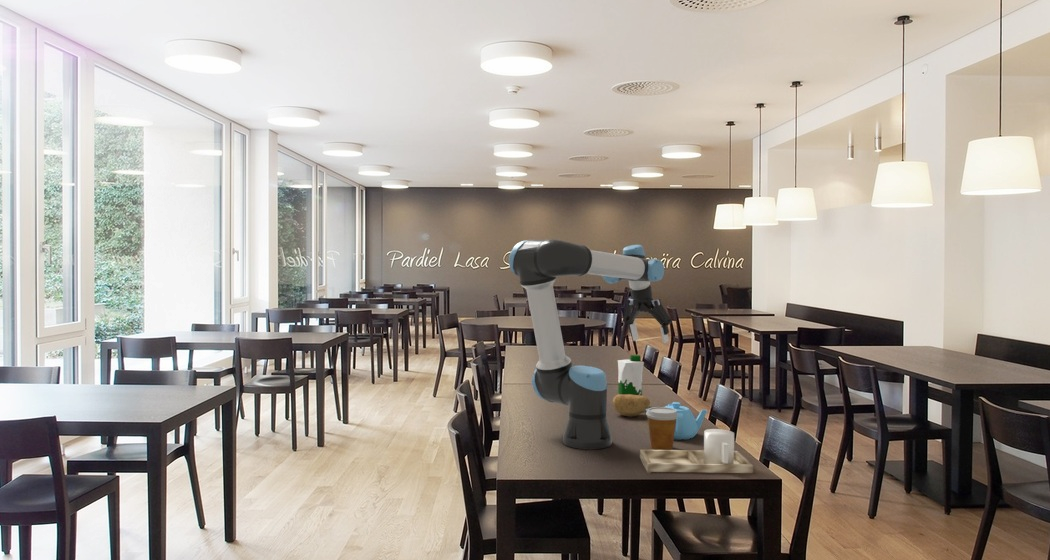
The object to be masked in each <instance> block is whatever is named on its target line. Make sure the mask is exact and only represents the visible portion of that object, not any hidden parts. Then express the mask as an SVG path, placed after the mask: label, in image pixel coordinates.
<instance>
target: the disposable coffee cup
mask: <svg viewBox="0 0 1050 560" xmlns="http://www.w3.org/2000/svg"><path fill="white" fill-rule="evenodd" d="M645 415H646V417H647V423H648V425H647V426H648V431H649V432H648V433H649V442H650V443H649V444H650V448H651V450H673V447H674V440H675V439H674V433H675V426H676V419H677V417H678V414H677V411H676V410H675V409H672V408H666V407H665V406H662V407H661V406H654V407H649V408H648V410H647V411H646V412H645Z"/></svg>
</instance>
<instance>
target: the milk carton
mask: <svg viewBox="0 0 1050 560" xmlns="http://www.w3.org/2000/svg"><path fill="white" fill-rule="evenodd" d="M644 364H645V362H644V361H642V359H641V355H639V354H630V357H629V359H619V360H618V359H617V369H618V370H617V371H618V374H617V375H618V390H617V395H620V394H624V395H627V394H631V395H641V396H643V370H644Z"/></svg>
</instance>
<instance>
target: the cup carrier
mask: <svg viewBox="0 0 1050 560" xmlns="http://www.w3.org/2000/svg"><path fill="white" fill-rule="evenodd" d="M639 459H640V461H641V463H642V465H643V467H644V469H645V471H646V473H647V474H652V473H653V472H654V473H655V472H656V473H706V474H707V473H714V474H716V473H719V474H720V473H721V474H722V473H723V474H754V465H753V464H752V463H751V462H750V461H749V460H748V459H747V458H746V457H745V456H744V455H742V454H741V453H740V452H739V451H738V450H734V464H704V449H702V450H699V449H696V450H695V449H694V450H693V449H692V450H691V449H687V450H686V449H672V450H654V449H639Z"/></svg>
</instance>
